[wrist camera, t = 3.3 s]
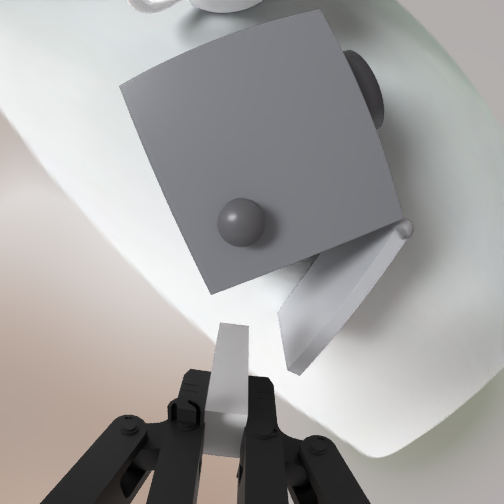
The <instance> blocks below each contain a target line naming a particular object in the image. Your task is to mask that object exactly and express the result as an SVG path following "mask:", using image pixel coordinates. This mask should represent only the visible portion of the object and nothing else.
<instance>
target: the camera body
mask: <svg viewBox="0 0 504 504" xmlns="http://www.w3.org/2000/svg"><path fill="white" fill-rule="evenodd" d="M119 87H120V89H121V92H122V95H123V97H124V100H125V102H126V105H127V108H128V110H129V113H130V115H131V118H132V120H133V123H134V125H135V128H136V130H137V133H138V135H139V138H140V140H141V142H142V145H143V147H144V150H145V152H146V154H147V157H148V159H149V162H150V164H151V166H152V169H153V171H154V173H155V176H156V178H157V180H158V183H159V185H160V187H161V189H162V192H163V194H164V196H165V198H166V201H167V203H168V205H169V207H170V210H171V212H172V214H173V216H174V218H175V221H176V223H177V225H178V227H179V229H180V231H181V234H182V236H183V238H184V240H185V242H186V244H187V246H188V248H189V251H190V253H191V255H192V257H193V259H194V261H195V263H196V265H197V267H198V269H199V271H200V273H201V275H202V278H203V280H204V282H205V284H206V286H207V288H208V290H209V292H210V294H211V295H212V294H215V293H218V292H220V291H223V290H226V289H228V288H231V287H234V286H236V285H239V284H241V283H244V282H247V281H249V280H252V279H254V278H257V277H260V276H262V275H265V274H267V273H270V272H272V271H275V270H278V269H280V268H283V267H285V266H288V265H290V264H293V263H295V262H298V261H300V260H303V259H305V258H308V257H311V256H313V255H316V254H318V253H321V252H323V251H325V250H328V249H330V248H333V247H335V246H338V245H340V244H343V243H345V242H348V241H350V240H353V239H355V238H357V237H360V236H362V235H365V234H367V233H370V232H372V231H374V230H377V229H379V228H382V227H384V226H386V225H389V224H391V223H394V222H396V221H398V220H401V219H403V214H402V210H401V207H400V203H399V199H398V196H397V192H396V189H395V185H394V182H393V179H392V175H391V172H390V169H389V166H388V163H387V160H386V157H385V154H384V151H383V148H382V145H381V142H380V139H379V136H378V134H377V131H376V129H378V128H379V127H380V126H381V125H382V122H383V119H384V104H383V98H382V94H381V91H380V87H379V85H378V82H377V80H376V78H375V76H374V74H373V72H372V70H371V68H370V67H369V65H368V64H367V63H366V61H365V60H364V59H363V58H362V57H361V56H360V55H359V54H357V53H356V52H354V51H351V50H346V51H342V49H341V47H340V45H339V43H338V41H337V39H336V37H335V35H334V33H333V32H332V30H331V28H330V26H329V24H328V22H327V20H326V19H325V17H324V15H323V13H322V11H321V10H320V9H317V10H312V11H308V12H304V13H299V14H295V15H291V16H287V17H284V18H280V19H276V20H273V21H269V22H266V23H263V24H259V25H256V26H253V27H250V28H247V29H244V30H241V31H238V32H235V33H232V34H229V35H227V36H224V37H221V38H219V39H216V40H214V41H211V42H208V43H206V44H204V45H201V46H199V47H196V48H194V49H192V50H189V51H187V52H185V53H182V54H180V55H178V56H176V57H174V58H172V59H169V60H167V61H165V62H163V63H161V64H159V65H157V66H155V67H153V68H151V69H149V70H147V71H145V72H143V73H142V74H140V75H138V76H136V77H134V78H132V79H131V80H129V81H127V82H125V83H123V84H122V85H120V86H119Z"/></svg>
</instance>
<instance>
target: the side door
mask: <svg viewBox="0 0 504 504" xmlns="http://www.w3.org/2000/svg"><path fill="white" fill-rule="evenodd" d="M412 233H413V224H412V222H411V221H410V220H408V219H406V218H404V217H403V219H401V220H398V221H396V222H394V223H391V224H389V225H386V226H384V227H382V228H379V229H377V230H374V231H372V232H370V233H367V234H365V235H362V236H360V237H357V238H355V239H353V240H350V241H348V242H345V243H343V244H340V245H338V246H335V247H333V248H330V249H328V250H325V251H323V252H321V253H320V254H319V256H318V257H317V259H316V260H315V261H314V263H313V264H312V266H311V267H310V268H309V270H308V271H307V273H306V274H305V275H304V277H303V278H302V279H301V281H300V282H299V284H298V285H297V286H296V288H295V289H294V290H293V292H292V293H291V294H290V296H289V297H288V298H287V300H286V301H285V302H284V304H283V305H282V306H281V308H280V309H279V310H278V312H277V314H278V319H279V325H280V331H281V337H282V342H283V348H284V354H285V360H286V366H287V370H288V371H291V372H293V373H295V374H297V375H299V376H300V375H301V374H302V373H303V372H304V371H305V370H306V368H307V367H308V366H309V365H310V364H311V363H312V362H313V361H314V359H315V358H316V357H317V356H318V355H319V354H320V353H321V351H322V350H323V349H324V348H325V347H326V346H327V344H328V343H329V342H330V341H331V340H332V338H333V337H334V336H335V335H336V334H337V332H338V331H339V330H340V329H341V328H342V326H343V325H344V324H345V323H346V321H347V320H348V319H349V318H350V316H351V315H352V314H353V313H354V311H355V310H356V309H357V308H358V306H359V305H360V304H361V302H362V301H363V300H364V299H365V297H366V296H367V295H368V293H369V292H370V291H371V289H372V288H373V287H374V285H375V284H376V283H377V281H378V280H379V279H380V277H381V276H382V274H383V273H384V272H385V270H386V269H387V267H388V266H389V265H390V263H391V262H392V260H393V259H394V258H395V256H396V255H397V253H398V252H399V250H400V249H401V247H402V246H403V244H404V243H405V241H406V240H407V239H408V238H409V237H410V236H411V235H412Z"/></svg>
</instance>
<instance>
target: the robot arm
mask: <svg viewBox="0 0 504 504" xmlns="http://www.w3.org/2000/svg"><path fill="white" fill-rule="evenodd" d="M248 339H249V326H244V325H236V324H227V323H220V326H219V331H218V337H217V342H216V349H215V354H214V360H213V365H212V371H211V372H208V371H201V370H195V369H190V370H189V371H188V372H187V373H186V374H185V375H184V377H183V381H182V384H181V388H180V391H179V395H178V398H176V399H174V400H172V401H171V402H170V403H169V405H168V419H167V420H166V421H163V422H160V423H145V422H144V421H143V420H142V419H141V418H139V417H137V416H134V415H123V416H120V417H118V418H116V419H115V420H114V421H113V422H112V423H111V424H110V425H109V426H108V428H107V429H106V430H105V431H104V432H103V433H102V435H101V436H100V437H99V438H98V439H97V440H96V441H95V442H94V443H93V445H92V446H91V447H90V448H89V449H88V450H87V451H86V452H85V454H84V455H83V456H82V457H81V458H80V459H79V460H78V462H77V463H76V464H75V465H74V466H73V467H72V468H71V470H70V471H69V472H68V473H67V474H66V475H65V476H64V477H63V478H62V480H61V481H60V482H59V483H58V484H57V485H56V486H55V488H54V489H53V490H52V491H51V492H50V493H49V494H48V495H47V496H46V498H45V499H44V500H43V501H42V502H41V503H40V504H130V503H131V502H132V500H133V499H134V497H135V496H136V494H137V493H138V491H139V489H140V488H141V486H142V485H143V483H144V482H145V480H146V479H147V477H148V476H149V474H150V473H151V470H155V471H154V476H153V479H152V483H151V487H150V491H149V495H148V498H147V502H146V504H196V503H197V496H198V488H199V480H200V473H201V465H202V454H208V455H216V456H225V457H235V458H239V457H240V463H239V468H238V473H237V478H238V492H237V504H289V503H288V493H287V488H288V490H289V493H290V495H291V497H292V500H293V502H294V504H370V502H369V500H368V499H367V497H366V495H365V494H364V492H363V490H362V489H361V487H360V486H359V484H358V482H357V481H356V479H355V477H354V476H353V474H352V472H351V471H350V469H349V468H348V466H347V464H346V463H345V461H344V459H343V458H342V456H341V454H340V453H339V451H338V450H337V448H336V446H335V444H334V443H333V442H332V441H331V440H330V439H328V438H326V437H324V436H319V435H313V436H310V437H307V438H305V439H304V440H303V441H302V440H298V439H295V438H292V437H289V436H287V435H286V434H284V433H283V432H282V431H281V430H280V429H279V427H278V424H277V416H276V406H275V396H274V385H273V383H272V382H271V381H270V379H269V378H268V377H258V376H248Z"/></svg>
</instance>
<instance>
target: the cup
mask: <svg viewBox="0 0 504 504" xmlns="http://www.w3.org/2000/svg"><path fill="white" fill-rule="evenodd" d="M180 1H181V0H152V1H149V0H127V2H128V3H129V5H130V6H131V7H132V8H134V9H135V10H137V11H139V12H142V13H156V12H159V11H162V10H165V9H167V8H169V7H171V6H173V5H174V4H176V3H178V2H180ZM186 1H187V2H189V3H190V4H191V5H193V6H195V7H197V8H199V9H202V10H205V11H209V12H217V13H230V12H236V11H241V10H245V9H248V8H250V7H252V6H254V5H256V4H258V3H260V2H261V1H262V0H186Z"/></svg>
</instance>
